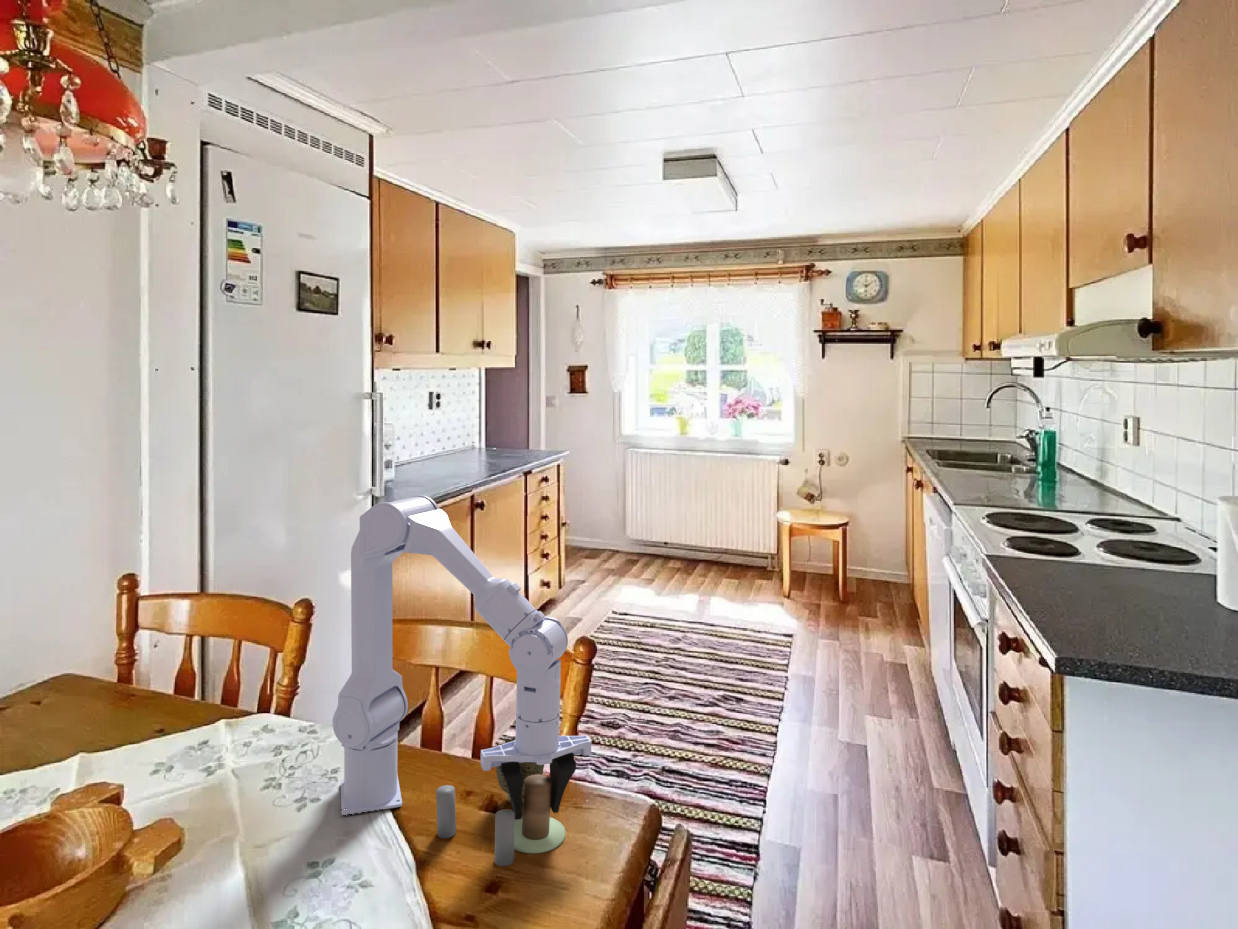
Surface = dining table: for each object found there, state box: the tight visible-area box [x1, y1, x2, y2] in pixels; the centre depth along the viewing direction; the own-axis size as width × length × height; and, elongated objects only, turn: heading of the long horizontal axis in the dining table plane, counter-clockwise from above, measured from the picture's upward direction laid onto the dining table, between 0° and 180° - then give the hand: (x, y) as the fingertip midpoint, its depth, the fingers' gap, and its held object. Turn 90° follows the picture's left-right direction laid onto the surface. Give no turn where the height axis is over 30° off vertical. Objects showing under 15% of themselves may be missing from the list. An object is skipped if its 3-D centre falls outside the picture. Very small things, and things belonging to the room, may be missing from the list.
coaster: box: [514, 816, 566, 854], centre depth 99 cm, size 8×8×1 cm
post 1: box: [435, 784, 457, 839], centre depth 98 cm, size 2×2×6 cm
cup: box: [493, 735, 545, 806], centre depth 107 cm, size 8×7×8 cm
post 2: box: [494, 808, 516, 867], centre depth 93 cm, size 2×2×6 cm
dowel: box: [522, 774, 552, 840], centre depth 99 cm, size 4×4×7 cm
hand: (535, 812), depth 99 cm, fingers open, 4 cm apart
